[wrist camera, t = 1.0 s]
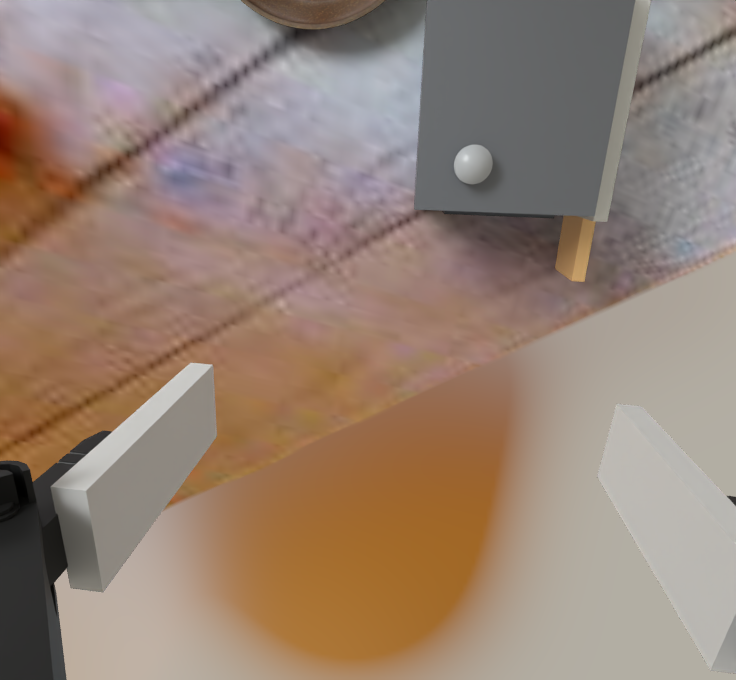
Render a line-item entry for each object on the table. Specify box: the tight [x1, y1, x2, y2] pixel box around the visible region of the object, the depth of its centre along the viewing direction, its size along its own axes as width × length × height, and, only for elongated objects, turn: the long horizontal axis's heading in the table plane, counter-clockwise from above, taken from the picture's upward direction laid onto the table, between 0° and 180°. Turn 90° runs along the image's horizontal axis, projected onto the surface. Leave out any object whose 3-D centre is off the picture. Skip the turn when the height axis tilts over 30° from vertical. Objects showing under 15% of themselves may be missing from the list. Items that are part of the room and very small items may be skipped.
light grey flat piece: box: [555, 0, 651, 282], centre depth 30 cm, size 16×1×7 cm, turn 178°
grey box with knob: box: [414, 0, 635, 218], centre depth 28 cm, size 13×10×9 cm
